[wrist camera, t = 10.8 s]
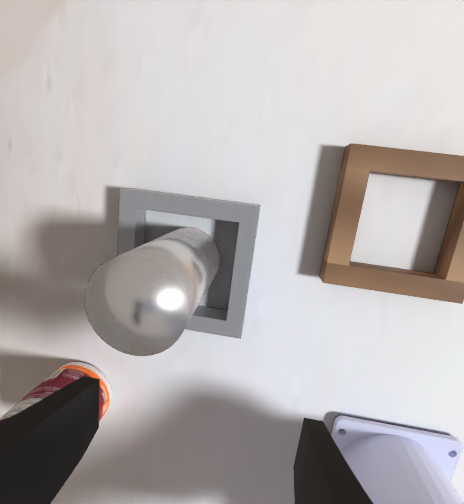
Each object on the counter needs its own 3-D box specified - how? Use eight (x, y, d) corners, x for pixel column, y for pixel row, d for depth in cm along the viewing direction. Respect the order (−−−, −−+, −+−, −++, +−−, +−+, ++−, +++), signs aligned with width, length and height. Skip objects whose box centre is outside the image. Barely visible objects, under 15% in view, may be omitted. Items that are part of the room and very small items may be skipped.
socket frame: (449, 295, 17) (462, 303, 16) (319, 276, 18) (323, 282, 17) (490, 162, 16) (508, 161, 15) (345, 146, 16) (351, 143, 15)
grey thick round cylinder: (215, 293, 19) (181, 364, 11) (156, 282, 19) (82, 345, 12) (224, 232, 18) (193, 265, 10) (161, 222, 19) (86, 247, 11)
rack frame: (242, 327, 19) (240, 338, 18) (126, 307, 20) (115, 317, 19) (260, 205, 18) (259, 206, 16) (131, 188, 18) (119, 188, 17)
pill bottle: (116, 418, 22) (29, 552, 14) (57, 412, 23) (-60, 538, 15) (112, 361, 21) (15, 471, 13) (50, 356, 22) (-80, 459, 14)
